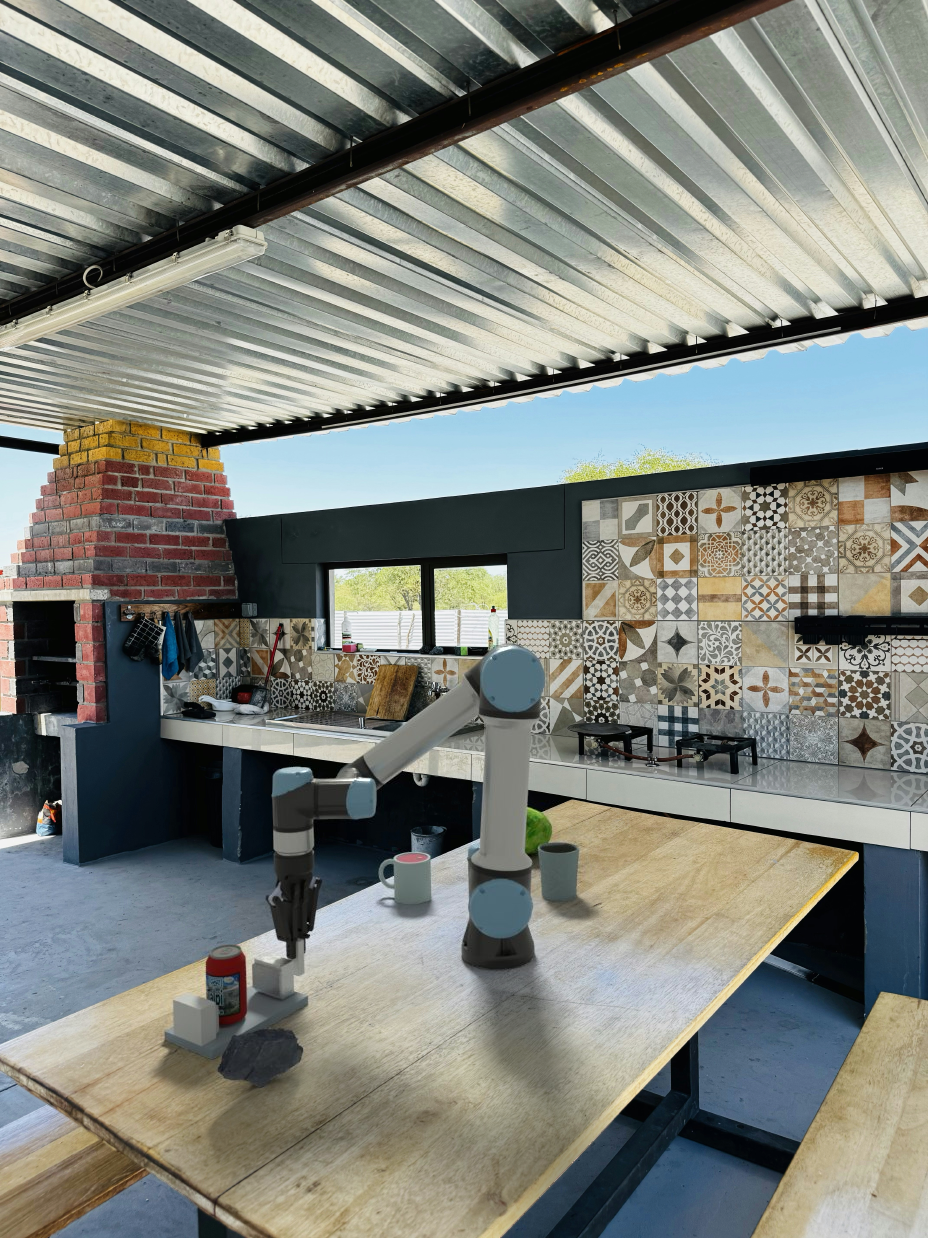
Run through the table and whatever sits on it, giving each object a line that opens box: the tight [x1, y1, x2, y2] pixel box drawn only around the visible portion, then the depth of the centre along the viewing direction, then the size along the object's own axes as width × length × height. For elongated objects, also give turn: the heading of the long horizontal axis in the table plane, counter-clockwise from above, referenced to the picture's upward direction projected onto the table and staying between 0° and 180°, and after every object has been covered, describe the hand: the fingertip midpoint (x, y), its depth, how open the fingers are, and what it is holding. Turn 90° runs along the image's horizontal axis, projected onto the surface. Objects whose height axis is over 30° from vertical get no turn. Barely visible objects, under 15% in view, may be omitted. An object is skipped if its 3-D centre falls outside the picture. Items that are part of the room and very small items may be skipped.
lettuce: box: [525, 806, 553, 855], centre depth 244 cm, size 15×20×14 cm
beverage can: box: [205, 943, 248, 1026], centre depth 145 cm, size 7×7×12 cm
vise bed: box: [163, 985, 309, 1060], centre depth 148 cm, size 12×22×8 cm, turn 147°
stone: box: [216, 1027, 305, 1088], centre depth 127 cm, size 14×6×10 cm, turn 150°
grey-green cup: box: [537, 841, 580, 903], centre depth 208 cm, size 10×10×12 cm
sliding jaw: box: [251, 952, 295, 1000], centre depth 154 cm, size 7×4×6 cm, turn 57°
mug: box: [378, 851, 432, 905], centre depth 209 cm, size 14×9×10 cm
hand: (296, 973), depth 160 cm, fingers closed
